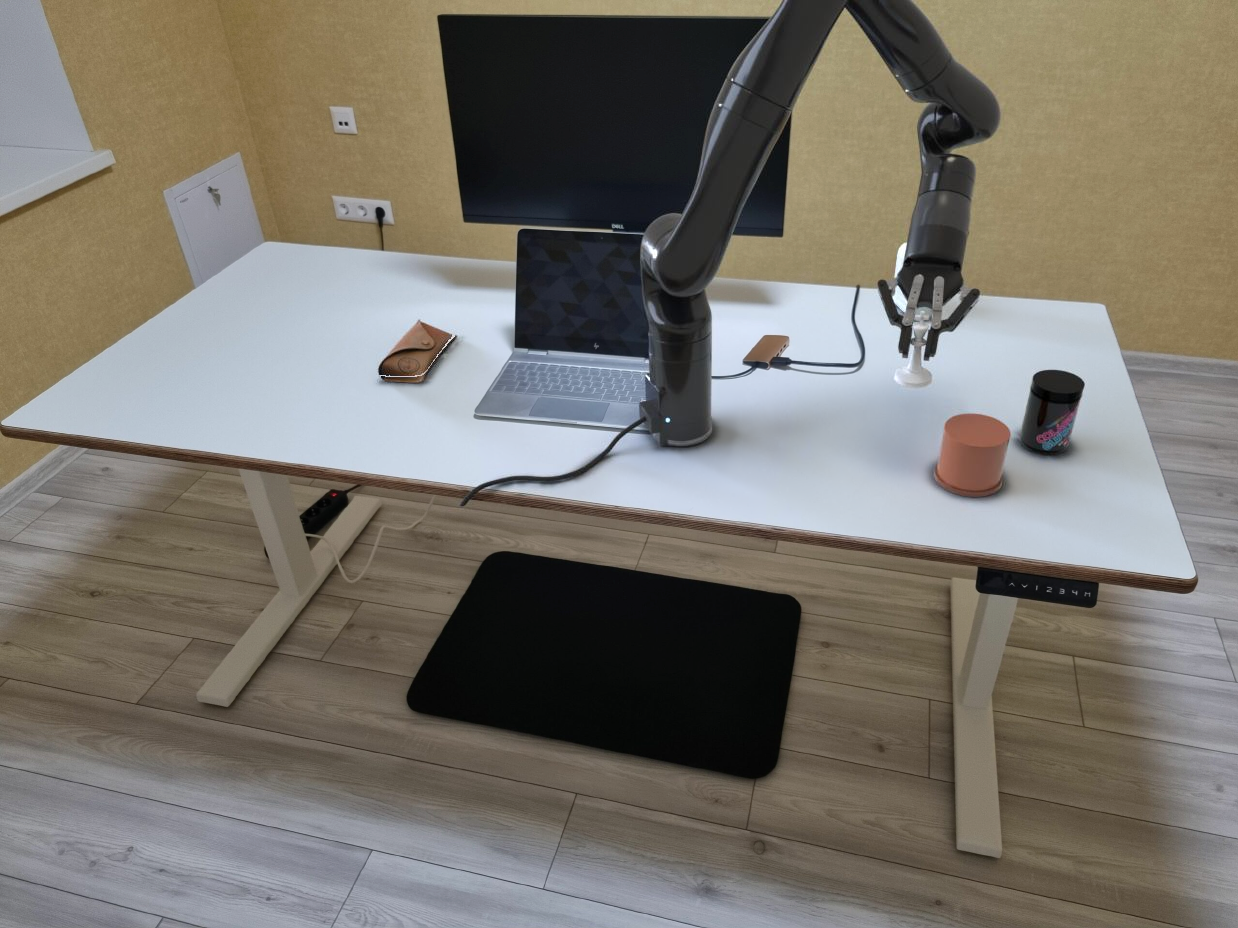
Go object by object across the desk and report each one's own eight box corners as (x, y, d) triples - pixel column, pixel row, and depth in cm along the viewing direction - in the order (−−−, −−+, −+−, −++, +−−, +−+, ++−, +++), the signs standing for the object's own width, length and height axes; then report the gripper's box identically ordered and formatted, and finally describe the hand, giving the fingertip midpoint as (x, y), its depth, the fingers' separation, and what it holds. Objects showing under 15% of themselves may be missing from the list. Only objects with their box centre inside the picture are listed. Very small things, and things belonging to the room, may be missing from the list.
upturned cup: (959, 503, 124) (969, 454, 120) (920, 468, 131) (928, 420, 127) (1016, 488, 126) (1027, 439, 122) (974, 454, 133) (984, 406, 129)
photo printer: (934, 319, 169) (944, 255, 162) (912, 323, 168) (921, 258, 161) (909, 297, 177) (917, 235, 170) (888, 300, 177) (895, 238, 170)
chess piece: (933, 389, 123) (944, 321, 117) (894, 387, 124) (904, 319, 118) (930, 370, 127) (941, 304, 121) (893, 369, 128) (901, 302, 122)
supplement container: (1022, 455, 133) (1036, 392, 127) (1014, 429, 138) (1028, 368, 132) (1072, 458, 131) (1089, 394, 125) (1063, 432, 137) (1079, 370, 131)
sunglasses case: (425, 381, 158) (400, 350, 156) (396, 397, 162) (371, 368, 159) (459, 334, 173) (437, 305, 170) (432, 350, 176) (410, 322, 173)
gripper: (884, 218, 122) (860, 342, 120) (995, 226, 118) (973, 356, 115) (885, 241, 129) (863, 359, 127) (990, 250, 125) (969, 372, 122)
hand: (915, 357), depth 121 cm, fingers closed on chess piece
